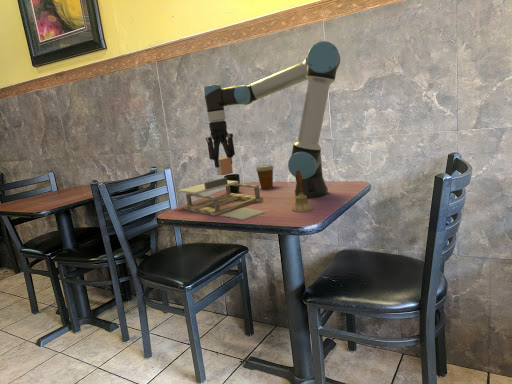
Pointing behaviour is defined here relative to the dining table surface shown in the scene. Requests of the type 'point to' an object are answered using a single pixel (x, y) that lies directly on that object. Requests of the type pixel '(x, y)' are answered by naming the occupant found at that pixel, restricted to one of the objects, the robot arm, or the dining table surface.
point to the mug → (233, 178)
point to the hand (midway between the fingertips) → (225, 173)
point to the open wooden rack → (222, 201)
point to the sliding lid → (208, 186)
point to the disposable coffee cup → (265, 176)
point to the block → (226, 166)
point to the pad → (243, 213)
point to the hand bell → (301, 197)
